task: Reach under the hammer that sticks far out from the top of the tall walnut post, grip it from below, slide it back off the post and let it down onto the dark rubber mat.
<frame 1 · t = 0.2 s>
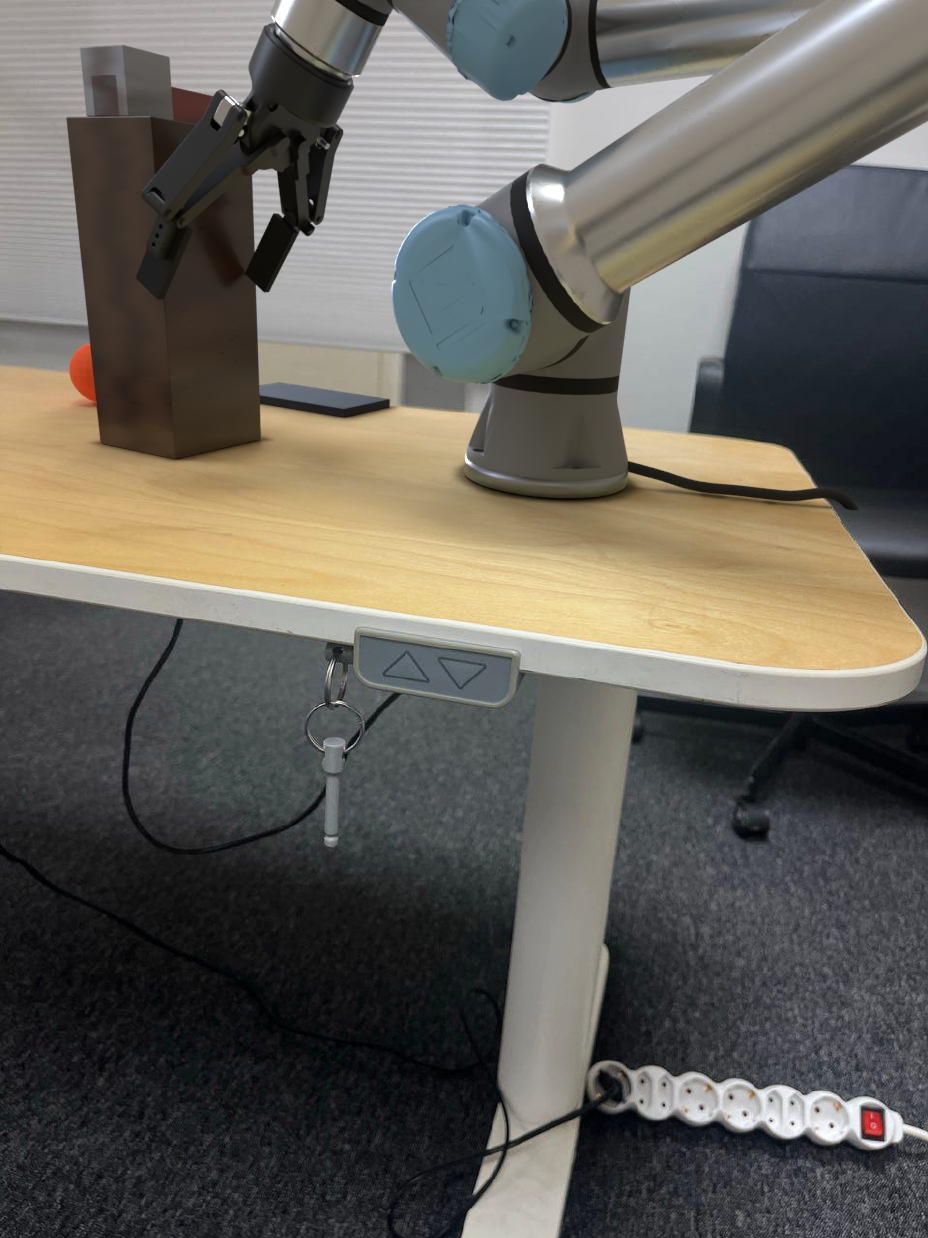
hand: (206, 286, 79), 15 cm above the table, tool tilted 35°, fingers open, 13 cm apart
clementine: (108, 404, 106), on the table
tall post: (183, 441, 90), on the table
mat: (309, 402, 114), on the table
hammer: (210, 134, 83), point 28 cm above the table, touching tall post
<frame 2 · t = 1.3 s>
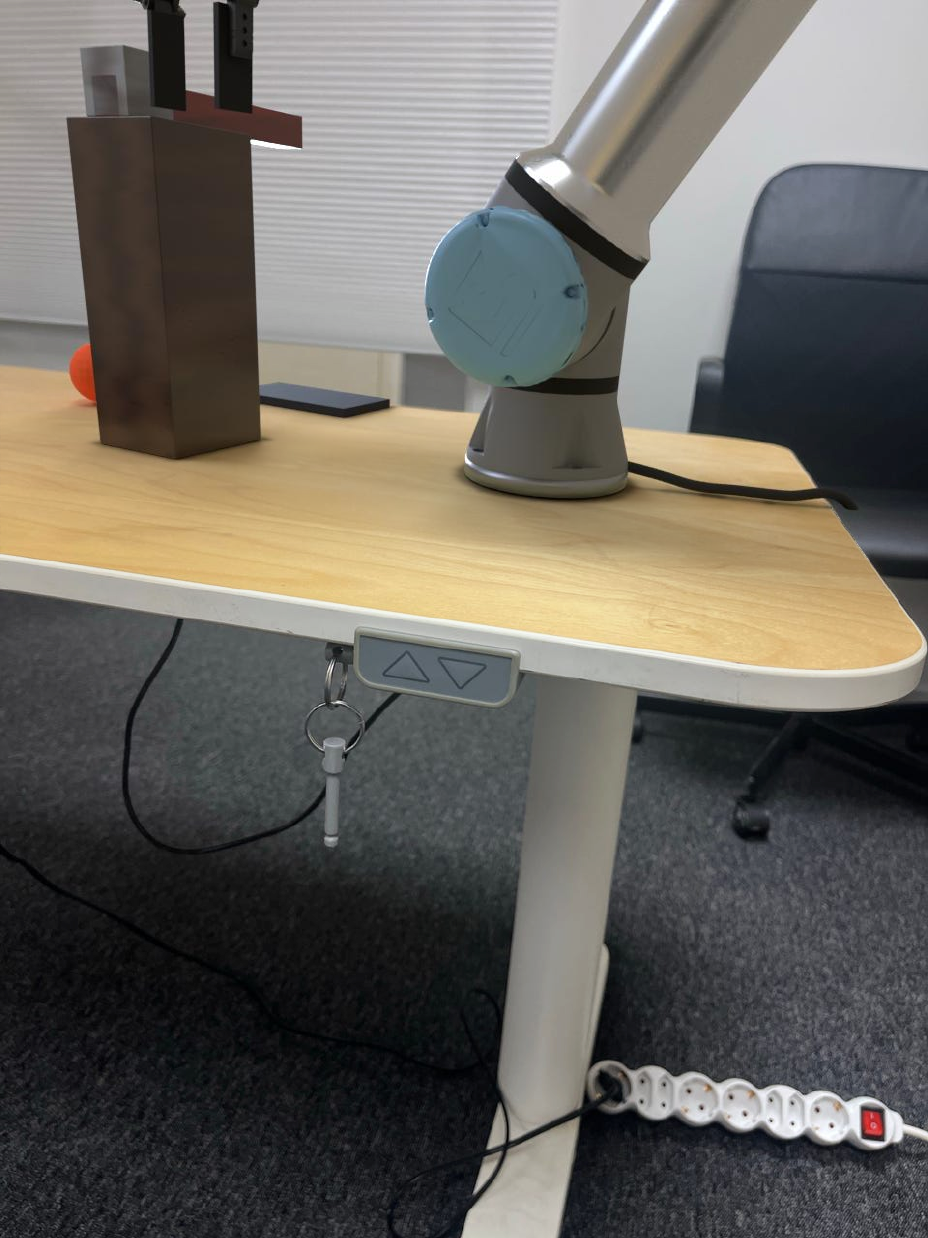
hand: (199, 109, 69), 28 cm above the table, tool pointing down, fingers open, 10 cm apart
nothing on the table moved.
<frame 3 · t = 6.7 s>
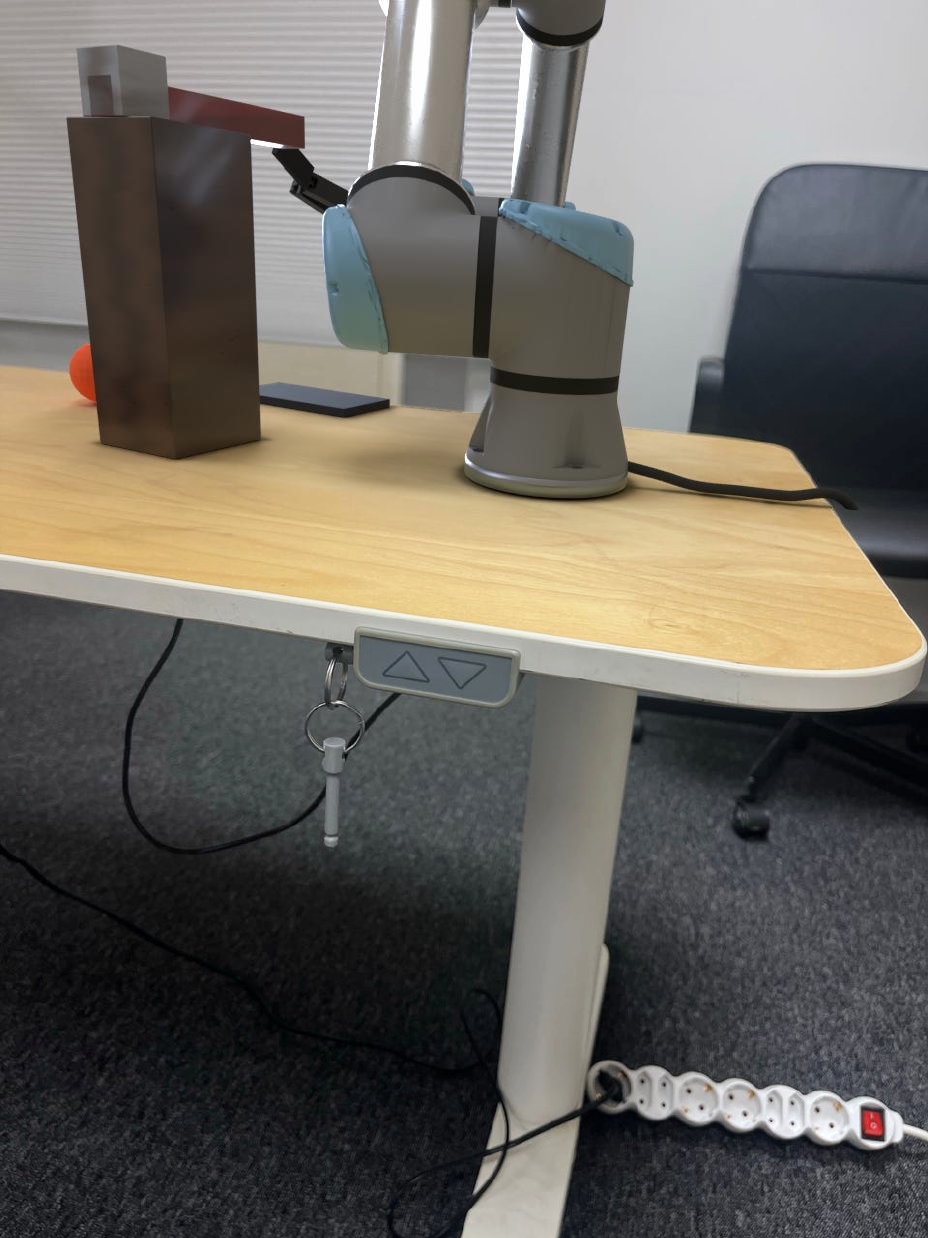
hand: (326, 142, 98), 29 cm above the table, tool pointing upward, fingers open, 13 cm apart
nothing on the table moved.
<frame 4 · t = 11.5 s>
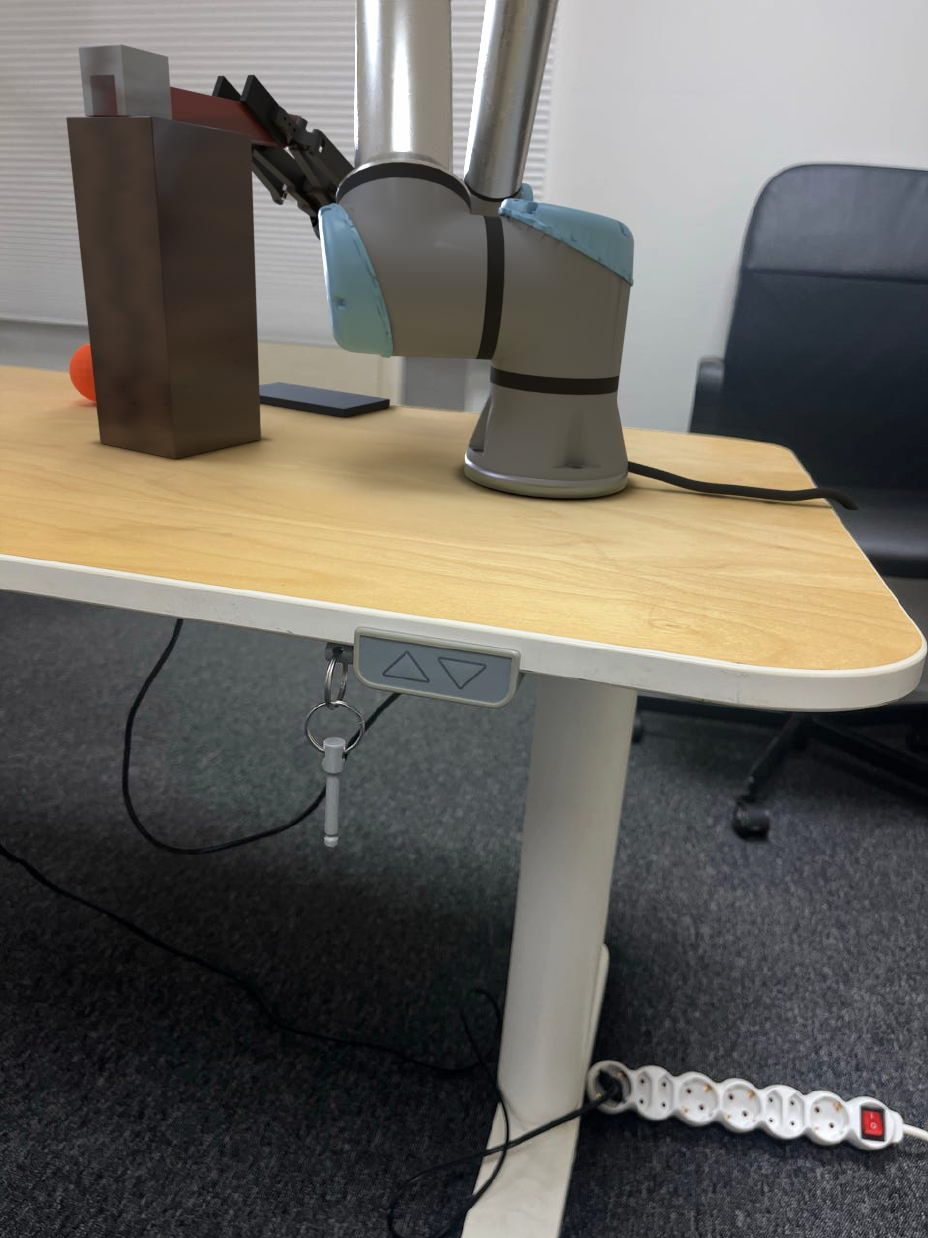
hand: (231, 88, 84), 32 cm above the table, tool pointing upward, fingers closed on hammer, 3 cm apart
hammer: (209, 134, 83), point 28 cm above the table, touching gripper, tall post
everything else where it was.
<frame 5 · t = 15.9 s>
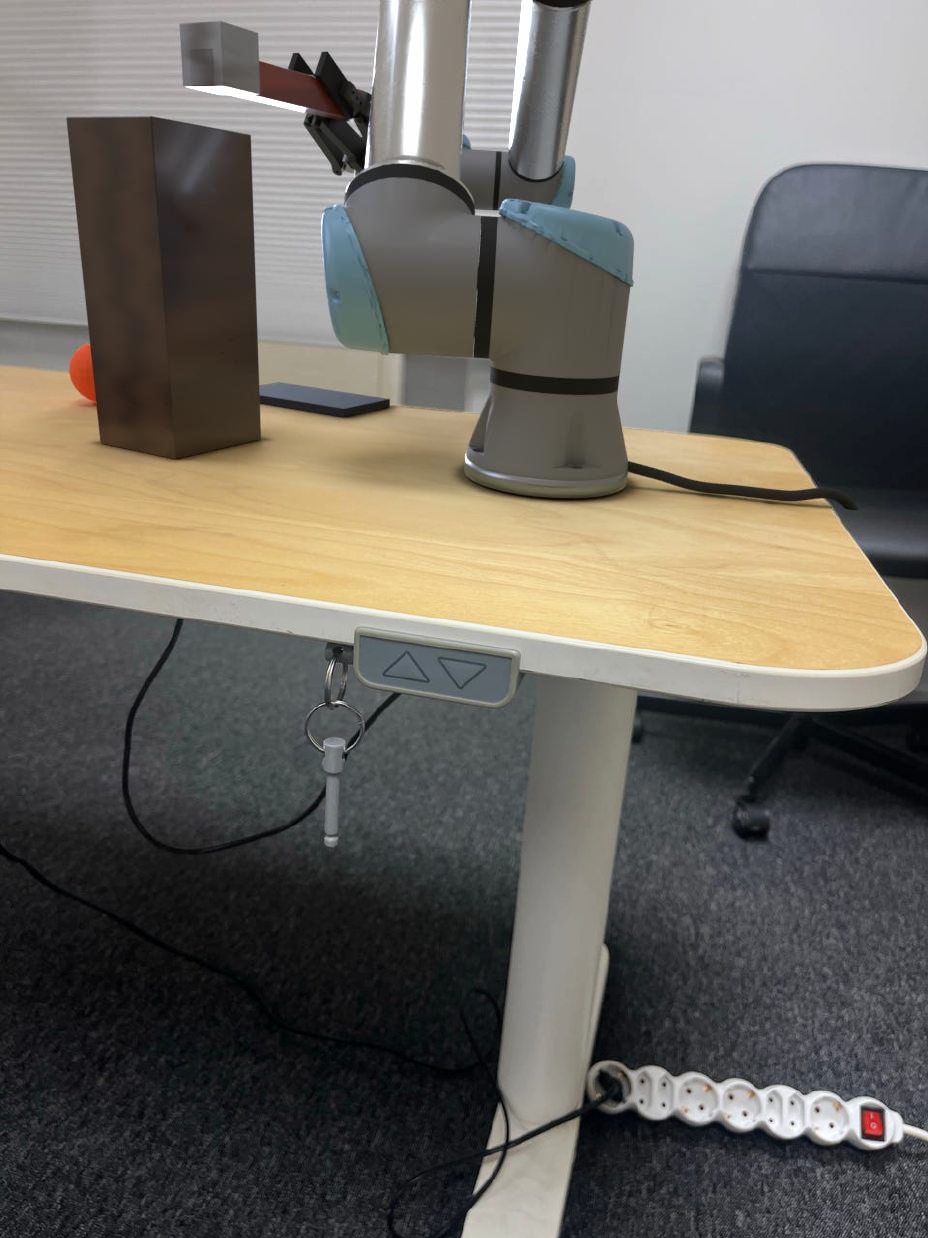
hand: (306, 64, 92), 36 cm above the table, tool pointing upward, fingers closed on hammer, 3 cm apart
hammer: (286, 105, 91), point 32 cm above the table, touching gripper
everything else where it was.
when the fingers open (22 cm above the table, at t = 20.7 s): hammer drops 16 cm, resting on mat.
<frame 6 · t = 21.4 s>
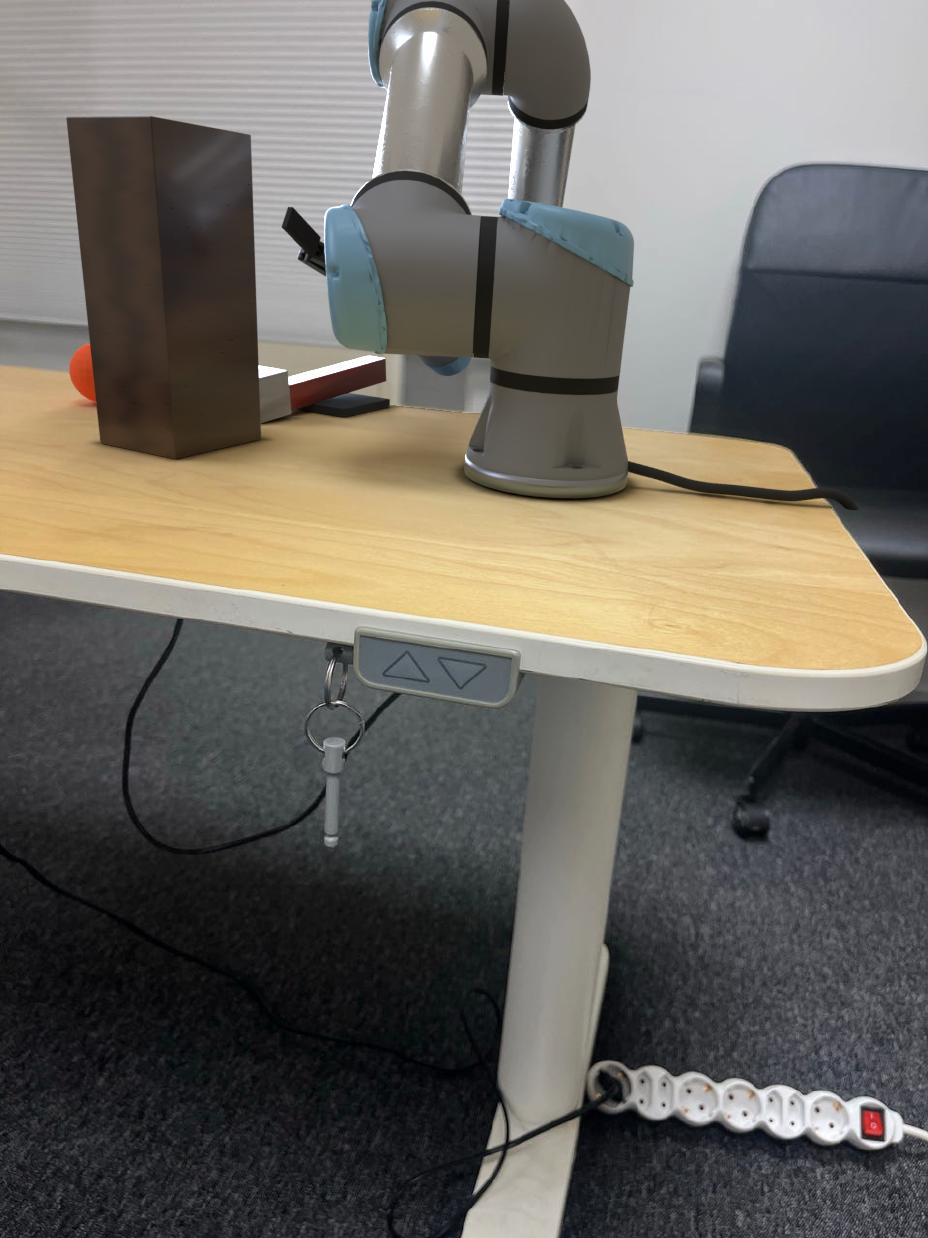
hand: (331, 218, 106), 22 cm above the table, tool pointing upward, fingers open, 13 cm apart
hammer: (316, 398, 110), point 1 cm above the table, tilted 6°, touching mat
everything else where it was.
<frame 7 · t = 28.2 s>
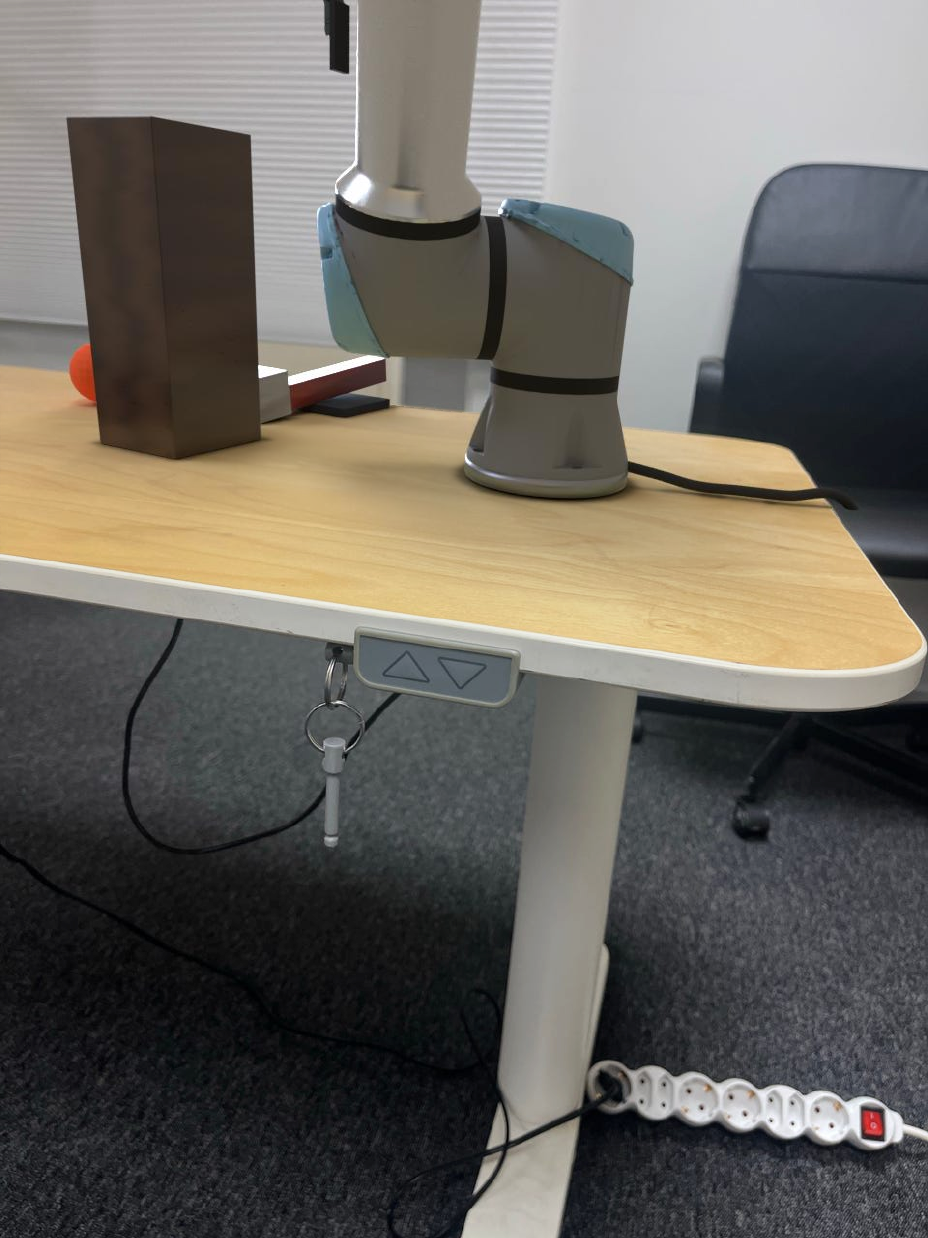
hand: (390, 70, 97), 37 cm above the table, tool pointing down, fingers open, 13 cm apart
nothing on the table moved.
at the end: hammer inside the target area on the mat (4.2 cm from its centre), point 1.2 cm above the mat's base; the gripper is holding nothing; hammer point 1.2 cm above the table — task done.
